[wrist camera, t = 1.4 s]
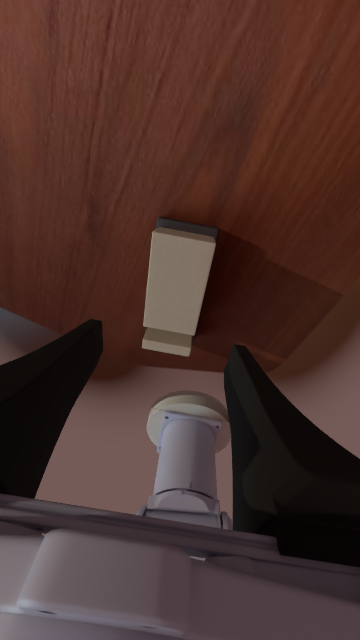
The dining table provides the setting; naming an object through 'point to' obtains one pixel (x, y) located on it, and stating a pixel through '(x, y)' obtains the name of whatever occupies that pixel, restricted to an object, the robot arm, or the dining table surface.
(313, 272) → the dining table surface
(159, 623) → the robot arm
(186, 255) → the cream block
